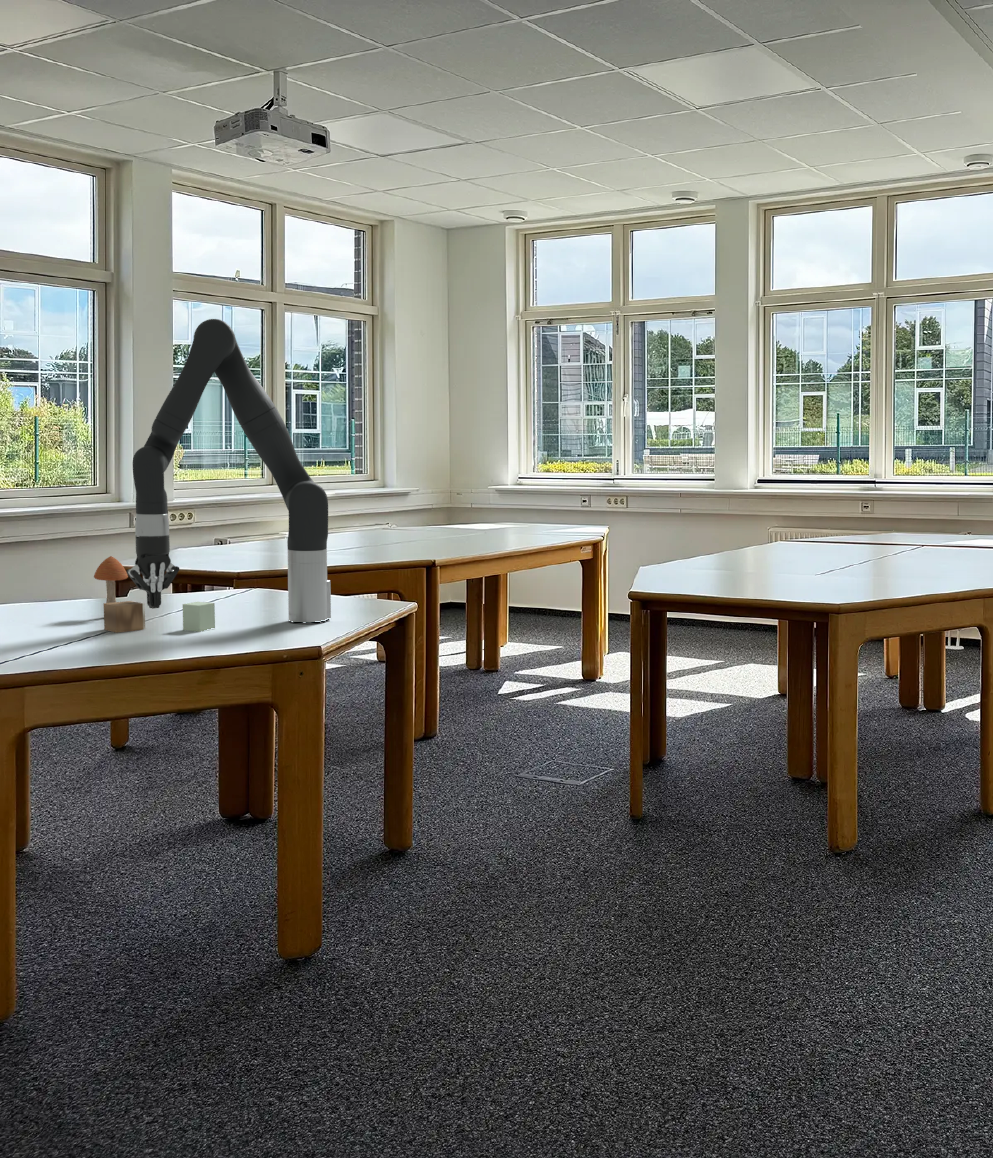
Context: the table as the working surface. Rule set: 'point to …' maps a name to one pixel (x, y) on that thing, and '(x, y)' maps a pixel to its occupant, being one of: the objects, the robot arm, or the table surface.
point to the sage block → (198, 616)
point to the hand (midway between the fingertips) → (154, 607)
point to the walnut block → (124, 616)
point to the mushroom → (110, 576)
